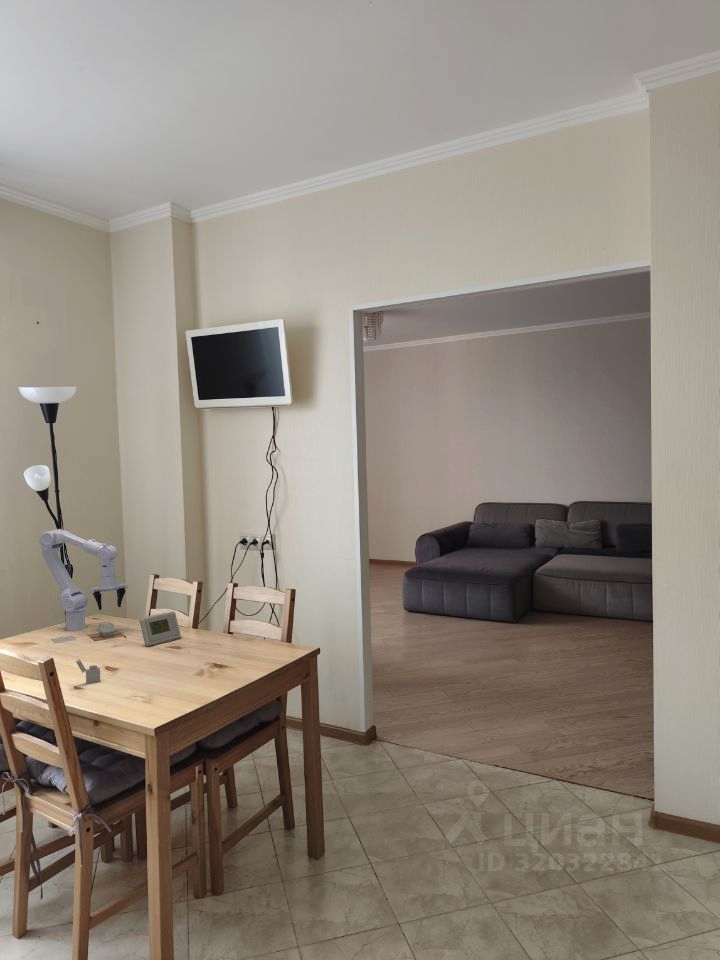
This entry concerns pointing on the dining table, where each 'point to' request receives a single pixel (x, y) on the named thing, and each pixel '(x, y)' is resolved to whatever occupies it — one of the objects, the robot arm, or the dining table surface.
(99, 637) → the walnut stand
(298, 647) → the dining table surface
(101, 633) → the housing
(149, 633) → the digital clock
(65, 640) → the grey stand
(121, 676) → the dining table surface
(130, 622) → the dining table surface
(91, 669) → the lighter
